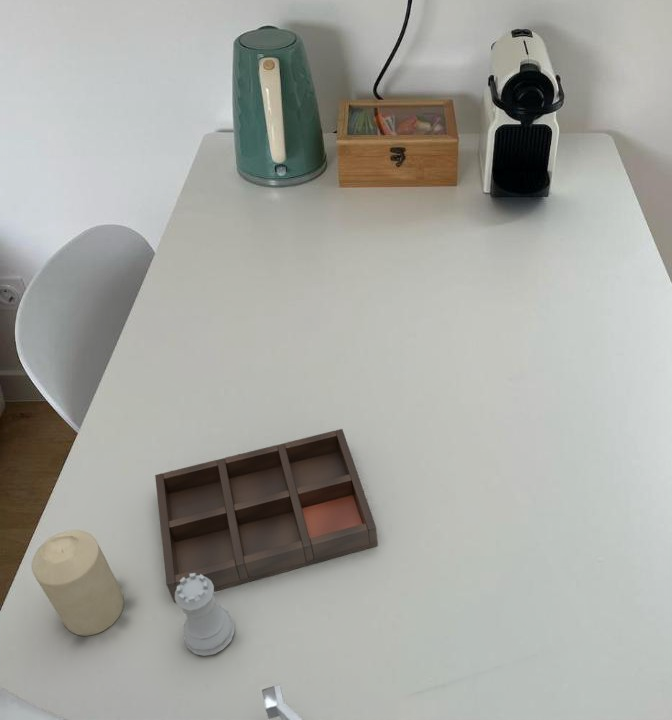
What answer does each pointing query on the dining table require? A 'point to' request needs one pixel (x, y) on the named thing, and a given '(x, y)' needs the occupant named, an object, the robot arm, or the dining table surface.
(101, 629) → the candle
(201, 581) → the rook chess piece
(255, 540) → the grid
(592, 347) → the dining table surface
